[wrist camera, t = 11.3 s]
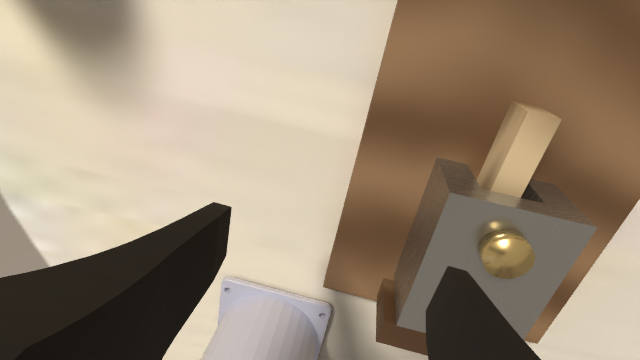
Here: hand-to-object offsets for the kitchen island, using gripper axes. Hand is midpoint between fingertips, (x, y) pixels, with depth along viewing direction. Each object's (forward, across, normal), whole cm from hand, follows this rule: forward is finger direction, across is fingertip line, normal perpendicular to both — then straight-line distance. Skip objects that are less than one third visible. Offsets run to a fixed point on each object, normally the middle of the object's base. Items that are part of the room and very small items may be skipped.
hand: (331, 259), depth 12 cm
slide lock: (+8, -7, +2) cm, 11 cm away
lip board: (+9, -7, -2) cm, 12 cm away
